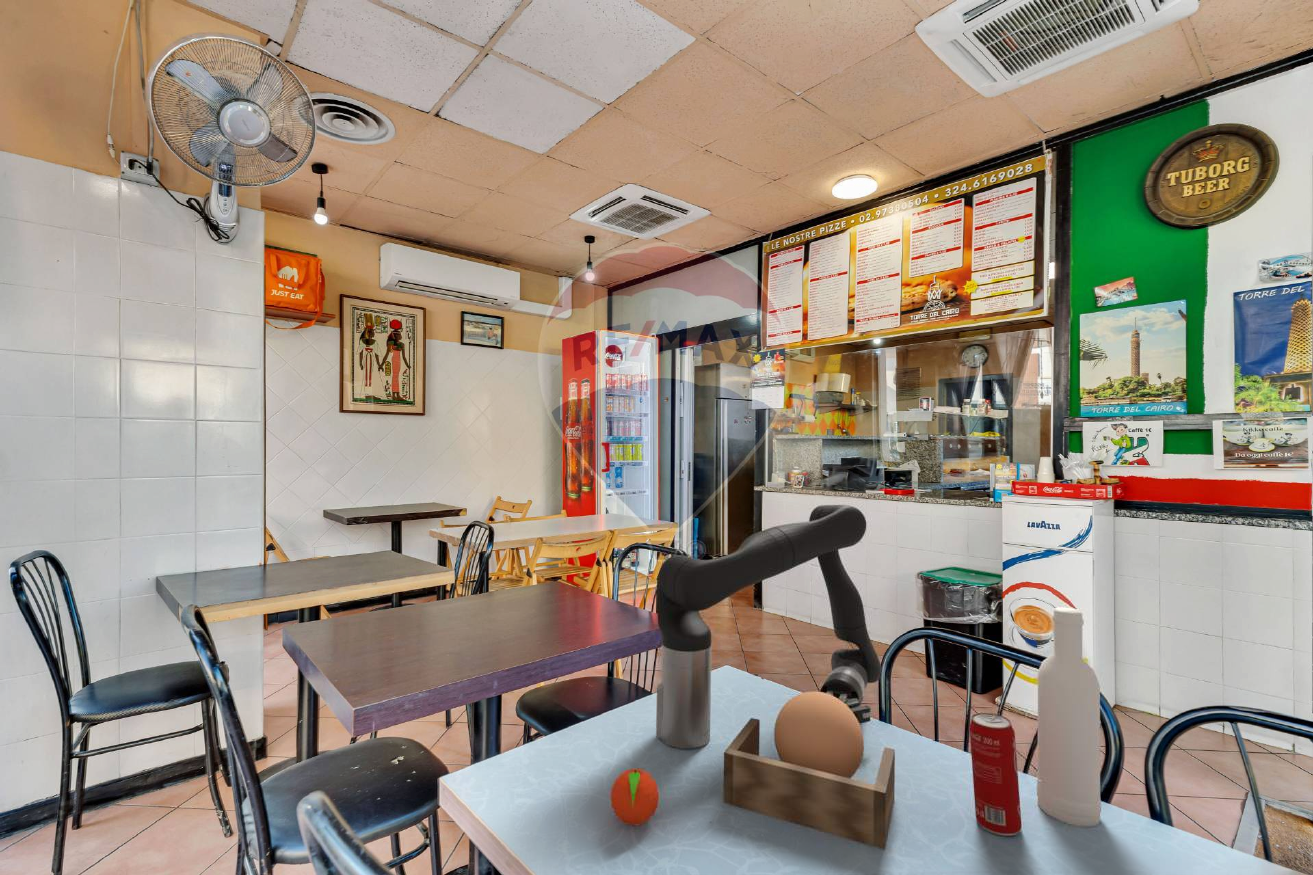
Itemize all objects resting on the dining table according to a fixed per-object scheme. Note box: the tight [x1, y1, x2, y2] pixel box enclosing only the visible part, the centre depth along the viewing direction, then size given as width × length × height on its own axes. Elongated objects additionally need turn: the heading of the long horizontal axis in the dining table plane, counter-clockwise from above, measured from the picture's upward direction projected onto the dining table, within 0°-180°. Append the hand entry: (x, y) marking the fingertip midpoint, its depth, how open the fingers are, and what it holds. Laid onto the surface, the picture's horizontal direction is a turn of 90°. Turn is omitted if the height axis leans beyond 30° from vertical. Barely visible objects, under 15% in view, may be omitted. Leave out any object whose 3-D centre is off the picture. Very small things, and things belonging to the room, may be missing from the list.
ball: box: [773, 691, 865, 779], centre depth 97 cm, size 14×14×14 cm
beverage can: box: [969, 712, 1023, 837], centre depth 86 cm, size 6×6×15 cm
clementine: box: [610, 768, 660, 826], centre depth 86 cm, size 8×7×7 cm
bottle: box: [1036, 606, 1102, 828], centre depth 90 cm, size 8×8×30 cm
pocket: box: [722, 717, 896, 850], centre depth 92 cm, size 23×14×8 cm, turn 63°
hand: (826, 725), depth 104 cm, fingers closed
